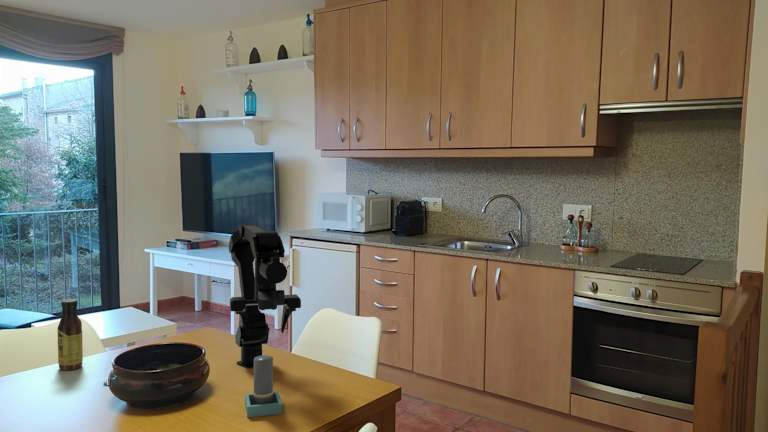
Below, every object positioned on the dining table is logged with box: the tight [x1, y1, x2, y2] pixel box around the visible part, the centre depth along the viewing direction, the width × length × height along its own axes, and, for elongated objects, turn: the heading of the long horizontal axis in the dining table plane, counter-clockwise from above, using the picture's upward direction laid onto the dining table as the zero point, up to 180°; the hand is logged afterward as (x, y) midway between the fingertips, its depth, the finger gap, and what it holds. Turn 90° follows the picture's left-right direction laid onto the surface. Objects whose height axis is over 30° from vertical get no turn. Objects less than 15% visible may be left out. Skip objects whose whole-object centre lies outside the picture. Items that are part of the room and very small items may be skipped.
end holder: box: [244, 390, 283, 418], centre depth 140 cm, size 8×8×2 cm
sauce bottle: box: [56, 298, 84, 371], centre depth 166 cm, size 6×6×20 cm
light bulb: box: [252, 354, 274, 405], centre depth 139 cm, size 5×5×12 cm
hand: (265, 333), depth 158 cm, fingers open, 9 cm apart
